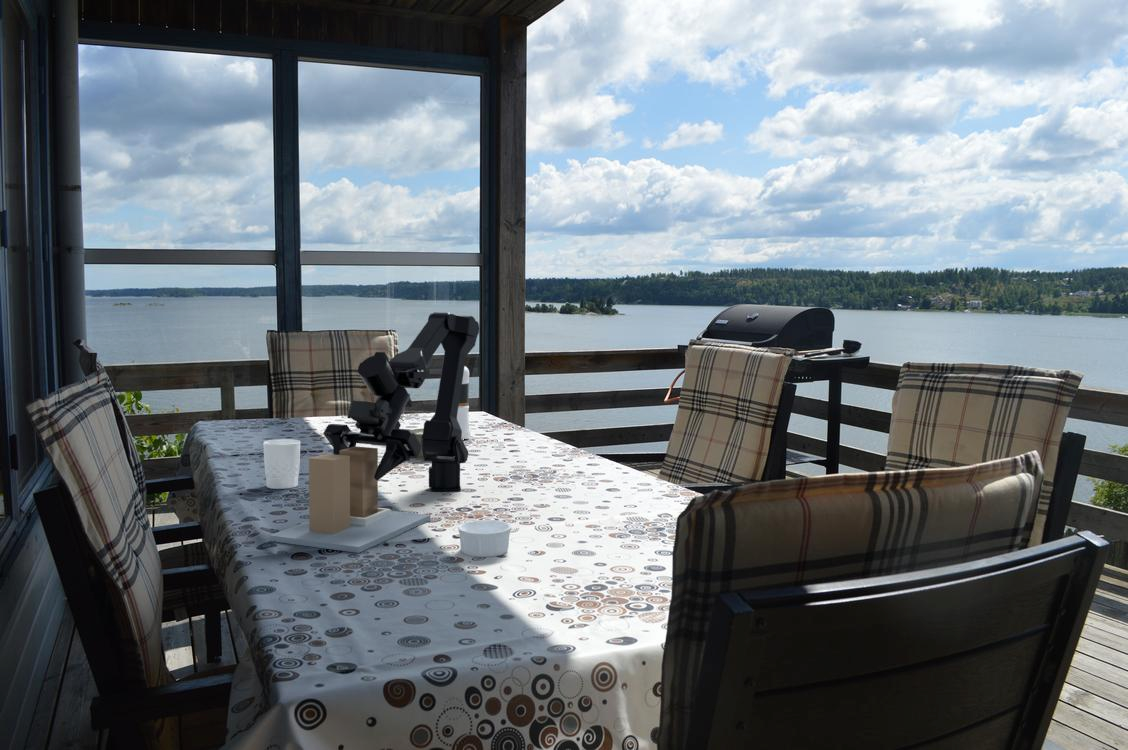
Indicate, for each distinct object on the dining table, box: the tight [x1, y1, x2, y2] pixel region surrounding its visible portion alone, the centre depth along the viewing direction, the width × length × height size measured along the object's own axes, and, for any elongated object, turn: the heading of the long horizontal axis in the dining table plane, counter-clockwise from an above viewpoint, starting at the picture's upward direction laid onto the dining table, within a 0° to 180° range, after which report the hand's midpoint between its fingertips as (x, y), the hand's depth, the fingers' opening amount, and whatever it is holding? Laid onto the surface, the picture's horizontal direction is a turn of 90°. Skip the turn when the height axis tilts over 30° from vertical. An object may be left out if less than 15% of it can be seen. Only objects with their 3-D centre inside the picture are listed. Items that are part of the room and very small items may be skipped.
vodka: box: [457, 365, 471, 441], centre depth 267 cm, size 9×9×30 cm
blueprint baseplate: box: [269, 453, 431, 554], centre depth 159 cm, size 24×18×14 cm
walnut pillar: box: [339, 445, 379, 518], centre depth 164 cm, size 5×5×13 cm
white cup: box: [262, 438, 301, 490], centre depth 196 cm, size 8×8×10 cm
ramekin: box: [457, 519, 512, 558], centre depth 148 cm, size 9×9×4 cm
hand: (354, 476), depth 162 cm, fingers open, 9 cm apart
